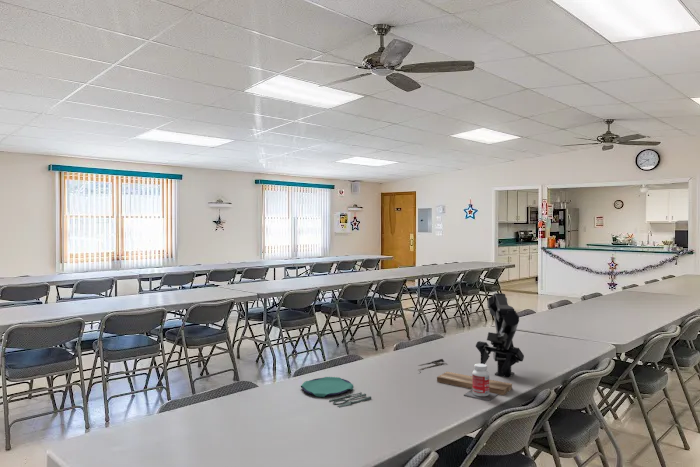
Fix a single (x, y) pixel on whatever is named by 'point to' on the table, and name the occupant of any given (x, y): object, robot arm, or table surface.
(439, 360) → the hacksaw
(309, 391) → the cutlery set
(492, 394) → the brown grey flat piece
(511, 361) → the robot arm
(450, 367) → the table surface
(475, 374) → the pill bottle
